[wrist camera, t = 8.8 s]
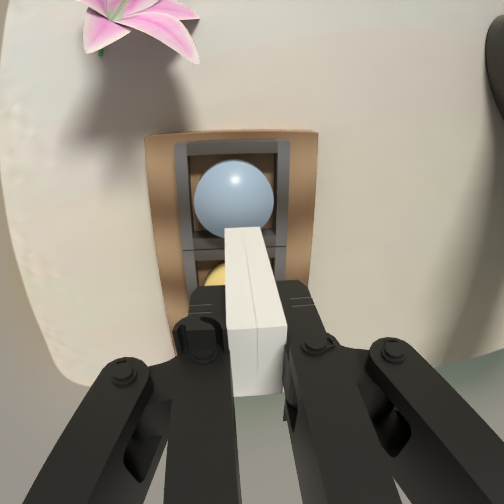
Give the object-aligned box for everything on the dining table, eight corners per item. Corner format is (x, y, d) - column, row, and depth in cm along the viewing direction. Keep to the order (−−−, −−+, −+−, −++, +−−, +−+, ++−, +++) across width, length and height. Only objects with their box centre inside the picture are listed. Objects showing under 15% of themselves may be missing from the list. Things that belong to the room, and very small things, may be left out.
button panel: (150, 135, 21) (138, 140, 18) (310, 130, 22) (324, 134, 19) (182, 366, 32) (180, 391, 29) (293, 361, 33) (299, 384, 30)
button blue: (193, 160, 20) (191, 164, 18) (270, 158, 20) (274, 162, 19) (198, 231, 22) (196, 240, 20) (269, 229, 22) (272, 237, 21)
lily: (202, 99, 22) (256, 30, 13) (48, 133, 17) (13, 67, 8) (177, -8, 20) (212, -83, 11) (46, 12, 15) (37, -67, 7)
